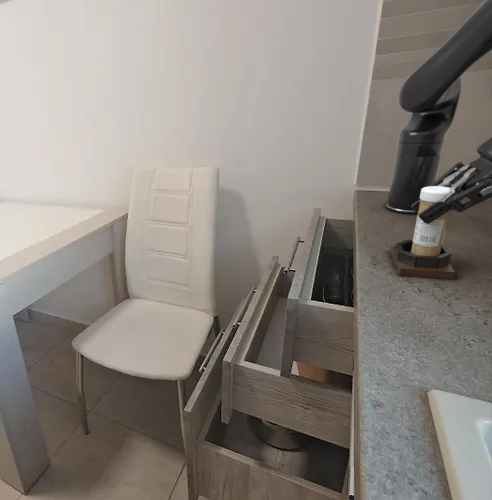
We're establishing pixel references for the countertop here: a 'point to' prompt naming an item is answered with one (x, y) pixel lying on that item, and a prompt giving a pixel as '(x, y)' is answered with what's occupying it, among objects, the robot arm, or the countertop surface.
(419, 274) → the base pad
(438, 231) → the sprinkles bottle
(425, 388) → the countertop surface
